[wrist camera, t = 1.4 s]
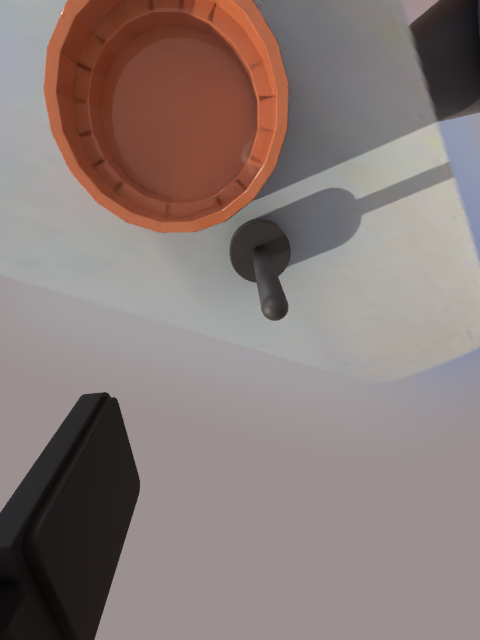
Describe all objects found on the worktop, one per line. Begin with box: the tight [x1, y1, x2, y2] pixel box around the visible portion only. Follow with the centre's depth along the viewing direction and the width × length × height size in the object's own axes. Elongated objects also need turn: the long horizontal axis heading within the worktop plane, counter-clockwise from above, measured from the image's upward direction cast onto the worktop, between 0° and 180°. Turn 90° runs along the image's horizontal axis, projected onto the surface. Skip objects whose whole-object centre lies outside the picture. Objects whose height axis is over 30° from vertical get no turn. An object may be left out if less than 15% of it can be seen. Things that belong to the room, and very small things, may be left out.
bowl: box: [44, 0, 289, 233], centre depth 27 cm, size 16×16×6 cm
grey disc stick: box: [230, 219, 290, 321], centre depth 26 cm, size 5×5×16 cm
